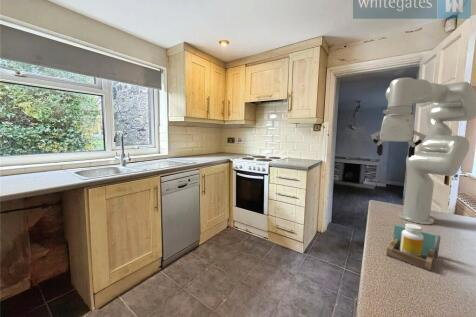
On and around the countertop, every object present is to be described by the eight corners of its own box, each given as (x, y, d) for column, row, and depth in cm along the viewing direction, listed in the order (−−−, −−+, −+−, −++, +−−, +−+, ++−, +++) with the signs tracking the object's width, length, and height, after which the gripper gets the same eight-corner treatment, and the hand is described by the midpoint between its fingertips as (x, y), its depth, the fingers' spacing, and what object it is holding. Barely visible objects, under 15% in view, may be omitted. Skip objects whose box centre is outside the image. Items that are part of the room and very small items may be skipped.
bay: (394, 244, 74) (394, 237, 74) (433, 257, 66) (434, 250, 66) (386, 255, 67) (387, 248, 67) (430, 271, 59) (431, 263, 59)
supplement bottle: (425, 261, 64) (429, 230, 63) (405, 258, 65) (409, 228, 64) (414, 251, 69) (417, 223, 68) (396, 249, 70) (399, 221, 69)
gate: (393, 242, 75) (395, 224, 74) (437, 256, 67) (440, 235, 66) (392, 244, 74) (394, 225, 73) (437, 258, 66) (440, 237, 65)
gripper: (370, 112, 84) (366, 155, 86) (427, 109, 72) (421, 159, 73) (375, 114, 89) (372, 154, 91) (430, 111, 77) (424, 157, 79)
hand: (394, 156), depth 82 cm, fingers open, 9 cm apart
